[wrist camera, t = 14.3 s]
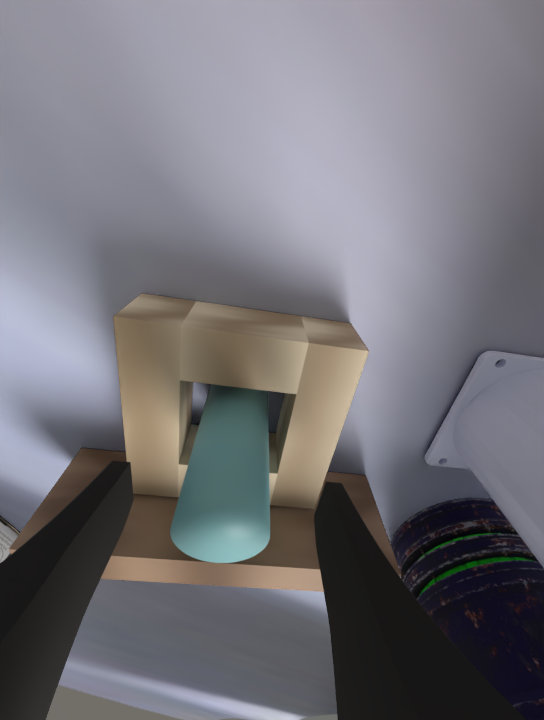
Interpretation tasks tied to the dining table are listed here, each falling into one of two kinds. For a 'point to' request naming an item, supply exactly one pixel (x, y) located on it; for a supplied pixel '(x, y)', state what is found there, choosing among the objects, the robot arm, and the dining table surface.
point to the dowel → (226, 480)
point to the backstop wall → (169, 564)
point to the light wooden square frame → (236, 369)
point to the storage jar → (480, 593)
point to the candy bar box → (6, 538)
